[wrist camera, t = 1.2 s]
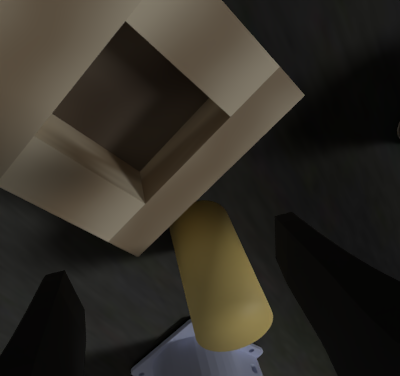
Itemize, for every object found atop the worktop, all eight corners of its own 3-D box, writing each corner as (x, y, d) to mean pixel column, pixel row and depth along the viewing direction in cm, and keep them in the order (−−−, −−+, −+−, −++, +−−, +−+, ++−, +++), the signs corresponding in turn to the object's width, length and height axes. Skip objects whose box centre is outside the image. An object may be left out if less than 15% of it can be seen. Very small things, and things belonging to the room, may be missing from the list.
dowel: (239, 218, 25) (288, 316, 19) (199, 255, 27) (232, 359, 20) (199, 190, 23) (238, 289, 17) (157, 231, 24) (178, 338, 18)
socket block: (276, 72, 20) (304, 95, 17) (133, 217, 23) (137, 257, 21) (84, -142, 14) (80, -161, 11) (-75, 99, 17) (-109, 132, 14)
